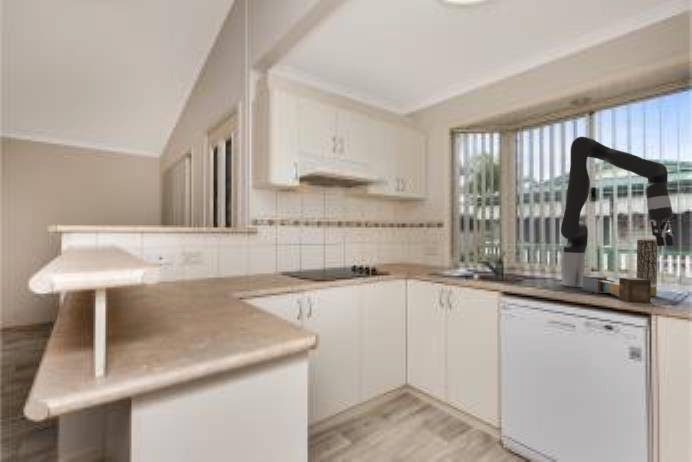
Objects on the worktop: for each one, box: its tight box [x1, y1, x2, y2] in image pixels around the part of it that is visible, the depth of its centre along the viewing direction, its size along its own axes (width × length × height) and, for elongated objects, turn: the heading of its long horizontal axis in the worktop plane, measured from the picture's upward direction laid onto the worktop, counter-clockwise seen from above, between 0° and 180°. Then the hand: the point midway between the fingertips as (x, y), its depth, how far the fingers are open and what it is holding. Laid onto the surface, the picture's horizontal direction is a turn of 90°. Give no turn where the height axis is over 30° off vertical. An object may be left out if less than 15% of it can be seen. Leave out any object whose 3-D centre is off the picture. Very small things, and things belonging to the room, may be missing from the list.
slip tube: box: [595, 279, 619, 296], centre depth 150 cm, size 19×4×4 cm, turn 0°
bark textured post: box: [635, 238, 658, 297], centre depth 150 cm, size 7×7×25 cm
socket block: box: [618, 277, 652, 303], centre depth 136 cm, size 5×8×9 cm, turn 90°
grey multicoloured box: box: [581, 274, 616, 294], centre depth 156 cm, size 10×8×7 cm
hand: (665, 245), depth 142 cm, fingers open, 8 cm apart
